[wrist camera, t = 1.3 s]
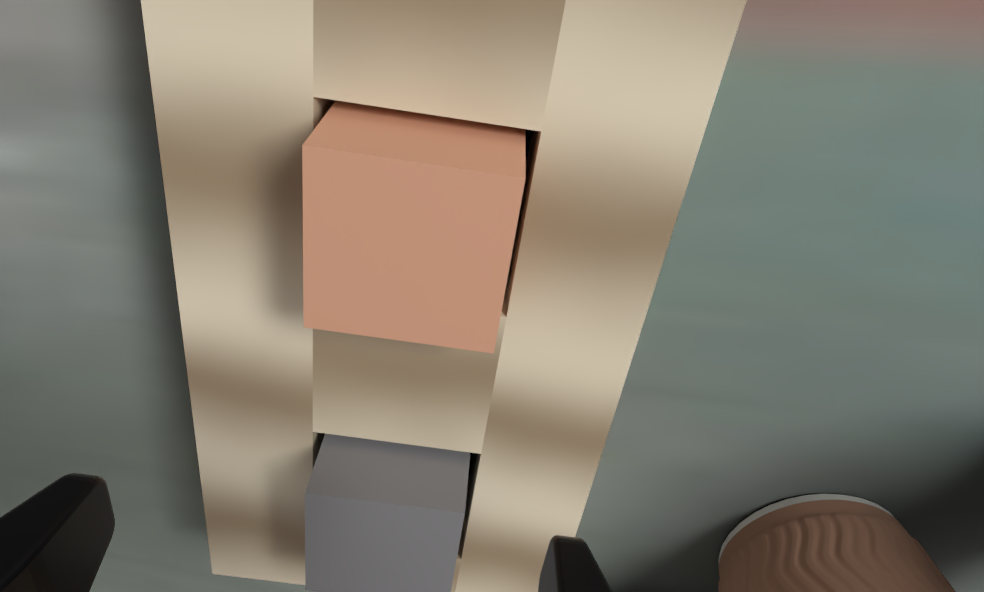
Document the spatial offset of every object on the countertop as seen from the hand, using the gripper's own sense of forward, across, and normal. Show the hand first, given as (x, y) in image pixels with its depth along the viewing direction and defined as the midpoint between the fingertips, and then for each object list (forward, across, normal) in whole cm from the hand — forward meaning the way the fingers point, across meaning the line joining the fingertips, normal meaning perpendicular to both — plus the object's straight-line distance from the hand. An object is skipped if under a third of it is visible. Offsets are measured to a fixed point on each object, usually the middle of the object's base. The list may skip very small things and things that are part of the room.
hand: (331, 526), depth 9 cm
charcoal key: (+11, 0, +10) cm, 15 cm away
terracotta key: (+11, 0, 0) cm, 11 cm away
